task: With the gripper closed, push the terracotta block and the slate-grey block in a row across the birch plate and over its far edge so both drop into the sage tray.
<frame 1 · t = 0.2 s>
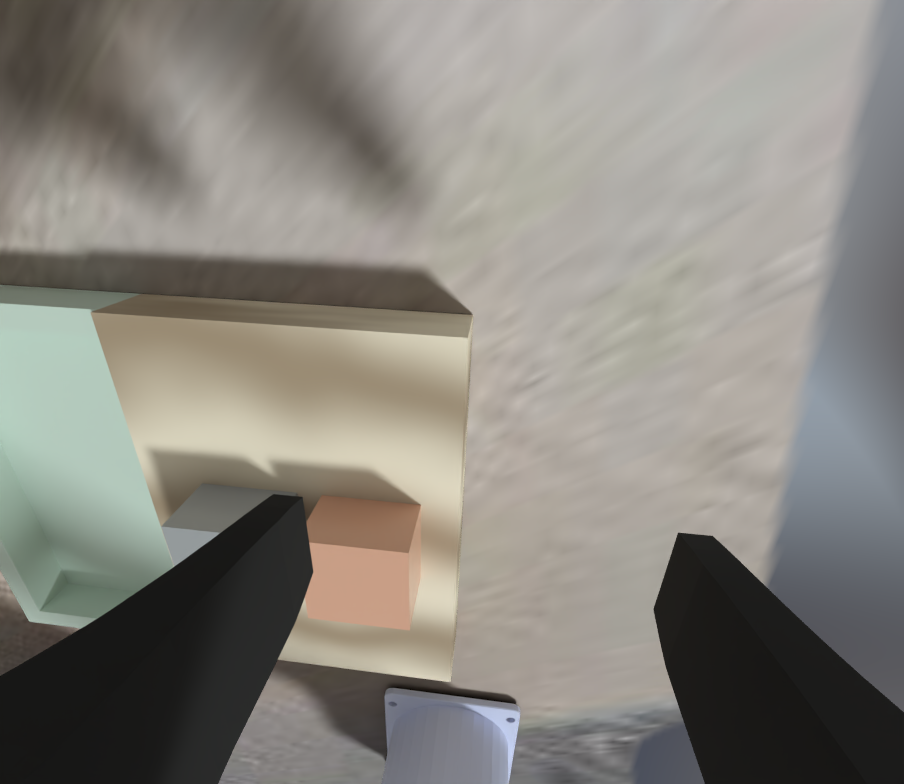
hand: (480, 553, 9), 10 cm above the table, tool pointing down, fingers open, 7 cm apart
birch plate: (324, 492, 22), on the table
slate-grey block: (257, 525, 19), point 2 cm above the table, touching birch plate
terracotta block: (373, 538, 19), point 2 cm above the table, touching birch plate
sage tray: (95, 470, 23), on the table
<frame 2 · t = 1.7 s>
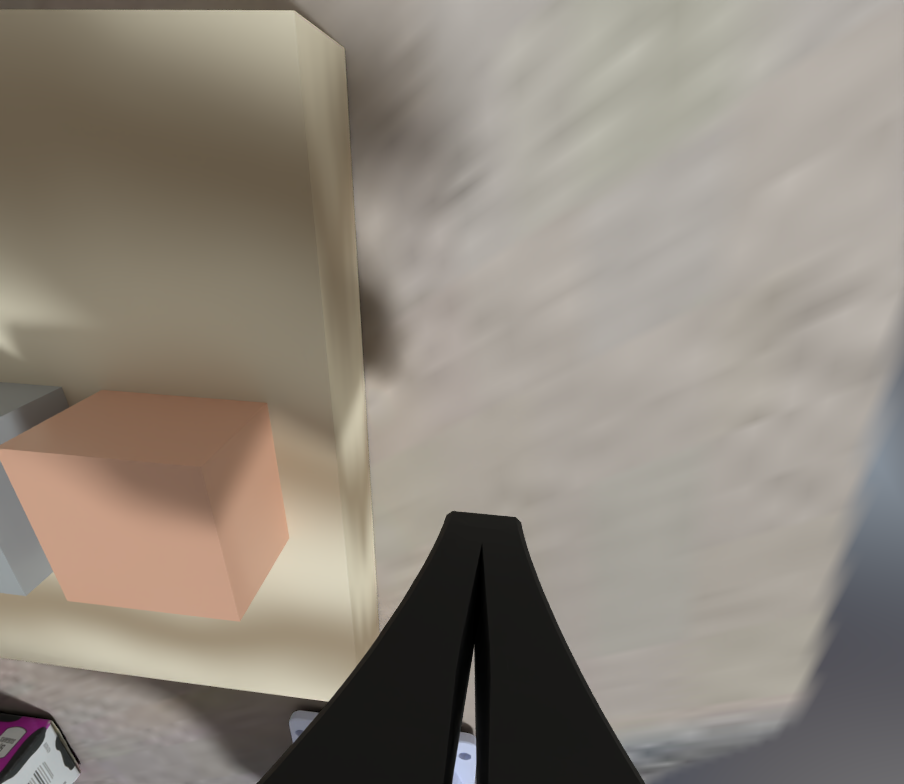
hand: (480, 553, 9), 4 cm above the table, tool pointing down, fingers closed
birch plate: (156, 411, 14), on the table
slate-grey block: (16, 451, 12), point 2 cm above the table, touching birch plate
terracotta block: (201, 468, 11), point 2 cm above the table, touching birch plate
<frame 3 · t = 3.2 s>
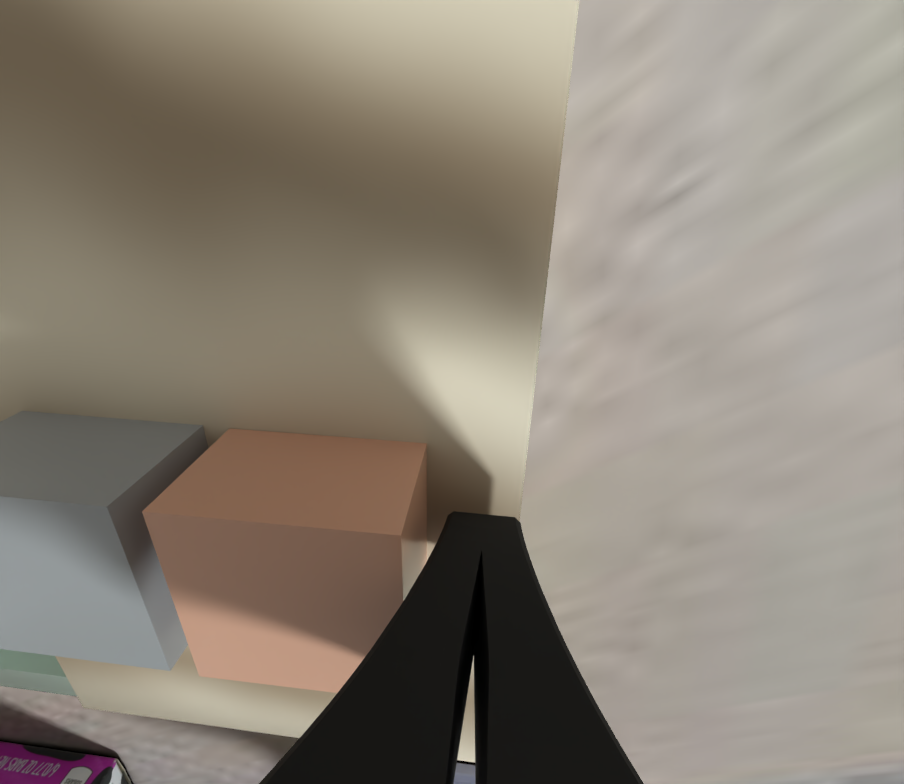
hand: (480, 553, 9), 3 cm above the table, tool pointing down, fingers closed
candy bar box: (33, 758, 23), on the table
birch plate: (273, 443, 12), on the table
slate-grey block: (137, 495, 10), point 2 cm above the table, touching birch plate
terracotta block: (335, 514, 10), point 3 cm above the table, touching birch plate, gripper
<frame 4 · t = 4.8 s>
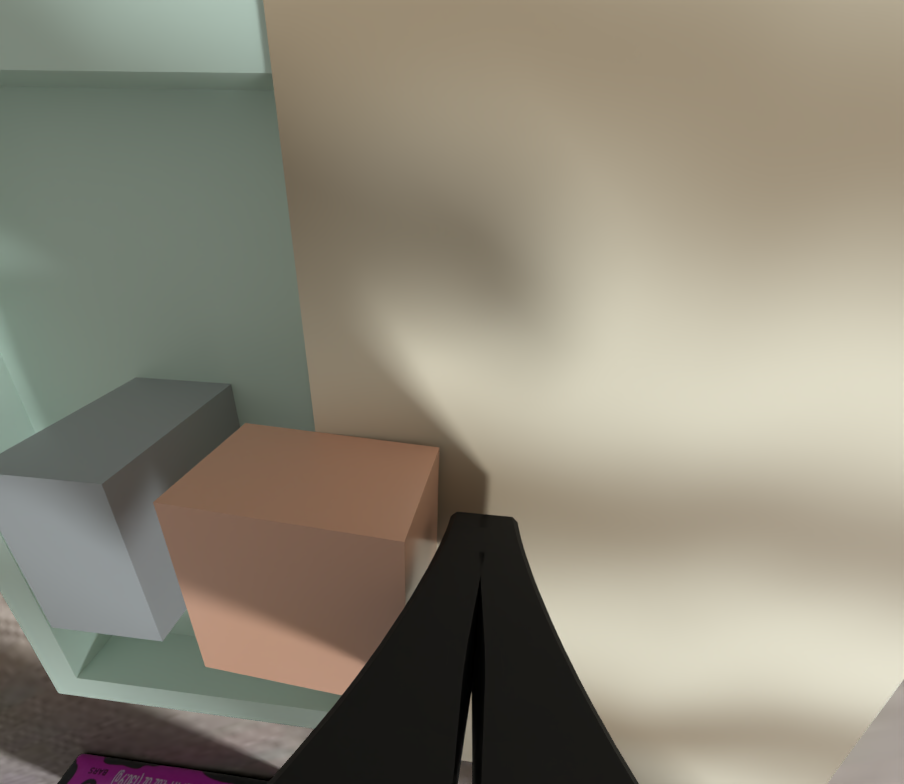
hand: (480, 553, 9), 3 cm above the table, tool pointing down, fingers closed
birch plate: (609, 471, 12), on the table
slate-grey block: (199, 501, 10), point 2 cm above the table, tilted 90°, touching sage tray
terracotta block: (346, 514, 10), point 3 cm above the table, touching birch plate, gripper
sage tray: (181, 435, 13), on the table
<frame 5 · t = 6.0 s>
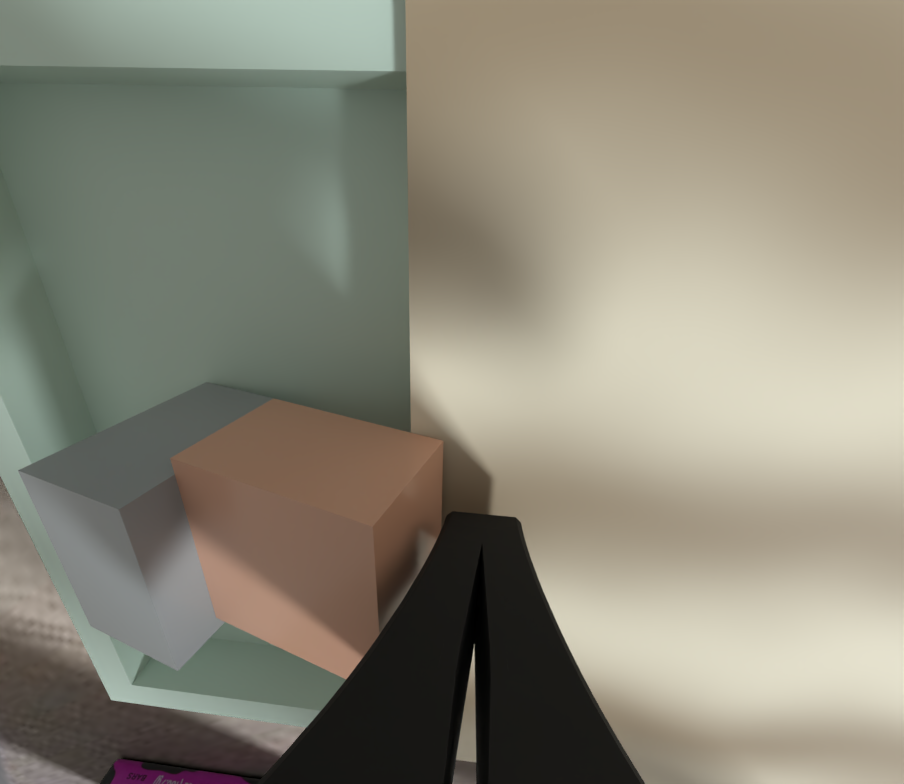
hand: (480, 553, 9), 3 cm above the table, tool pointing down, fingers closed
birch plate: (687, 477, 12), on the table
slate-grey block: (238, 525, 10), point 3 cm above the table, tilted 105°, touching sage tray, terracotta block
terracotta block: (358, 497, 10), point 2 cm above the table, tilted 16°, touching birch plate, slate-grey block
sage tray: (246, 439, 12), on the table
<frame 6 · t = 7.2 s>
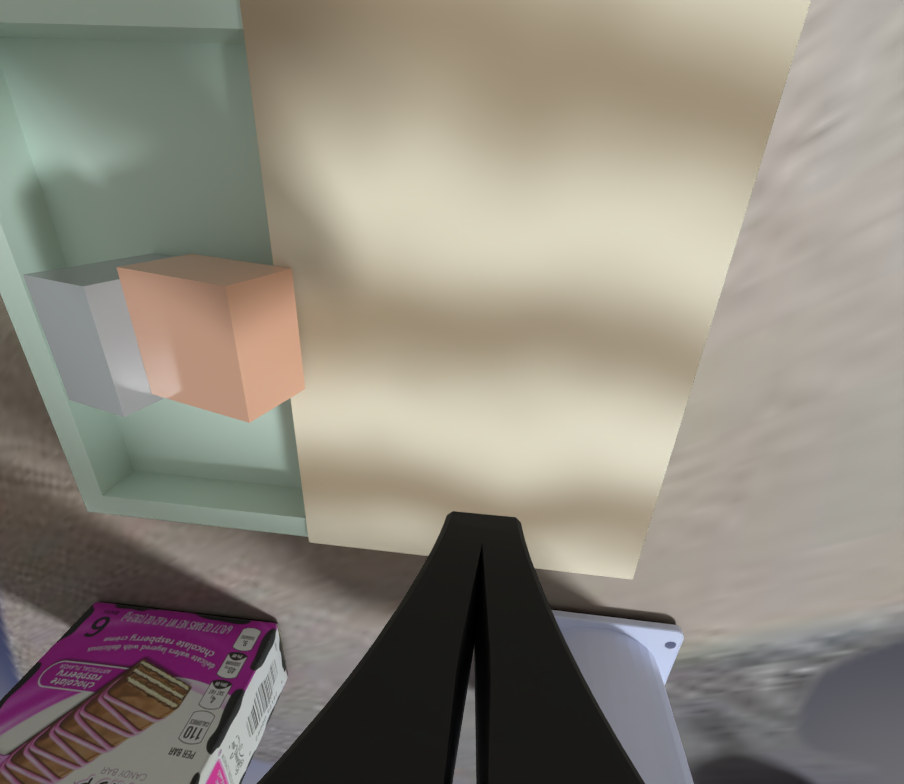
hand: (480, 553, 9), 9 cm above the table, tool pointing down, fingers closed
candy bar box: (195, 631, 27), on the table
birch plate: (486, 325, 17), on the table
slate-grey block: (167, 335, 15), point 3 cm above the table, tilted 105°, touching sage tray, terracotta block
terracotta block: (249, 322, 15), point 2 cm above the table, tilted 16°, touching birch plate, slate-grey block
sage tray: (183, 302, 18), on the table
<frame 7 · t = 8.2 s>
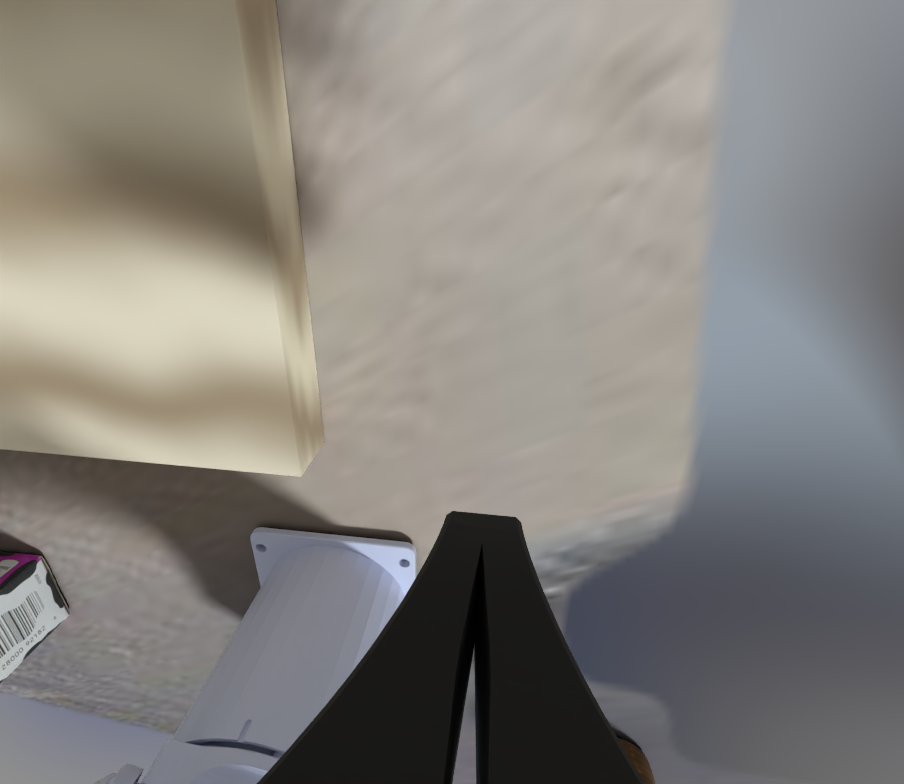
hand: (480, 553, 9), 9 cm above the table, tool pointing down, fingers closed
birch plate: (123, 211, 16), on the table
utensil holder: (597, 753, 28), on the table
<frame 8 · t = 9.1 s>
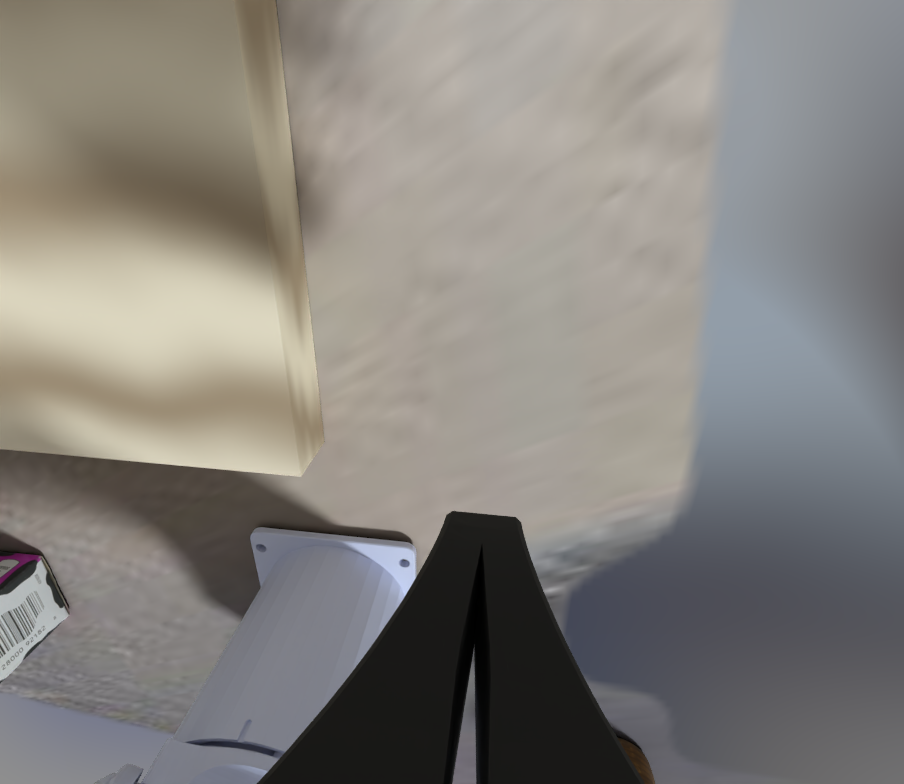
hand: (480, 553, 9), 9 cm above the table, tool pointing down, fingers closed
birch plate: (123, 211, 16), on the table
utensil holder: (597, 753, 28), on the table
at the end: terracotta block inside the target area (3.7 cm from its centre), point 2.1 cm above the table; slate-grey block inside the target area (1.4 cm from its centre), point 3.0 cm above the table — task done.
